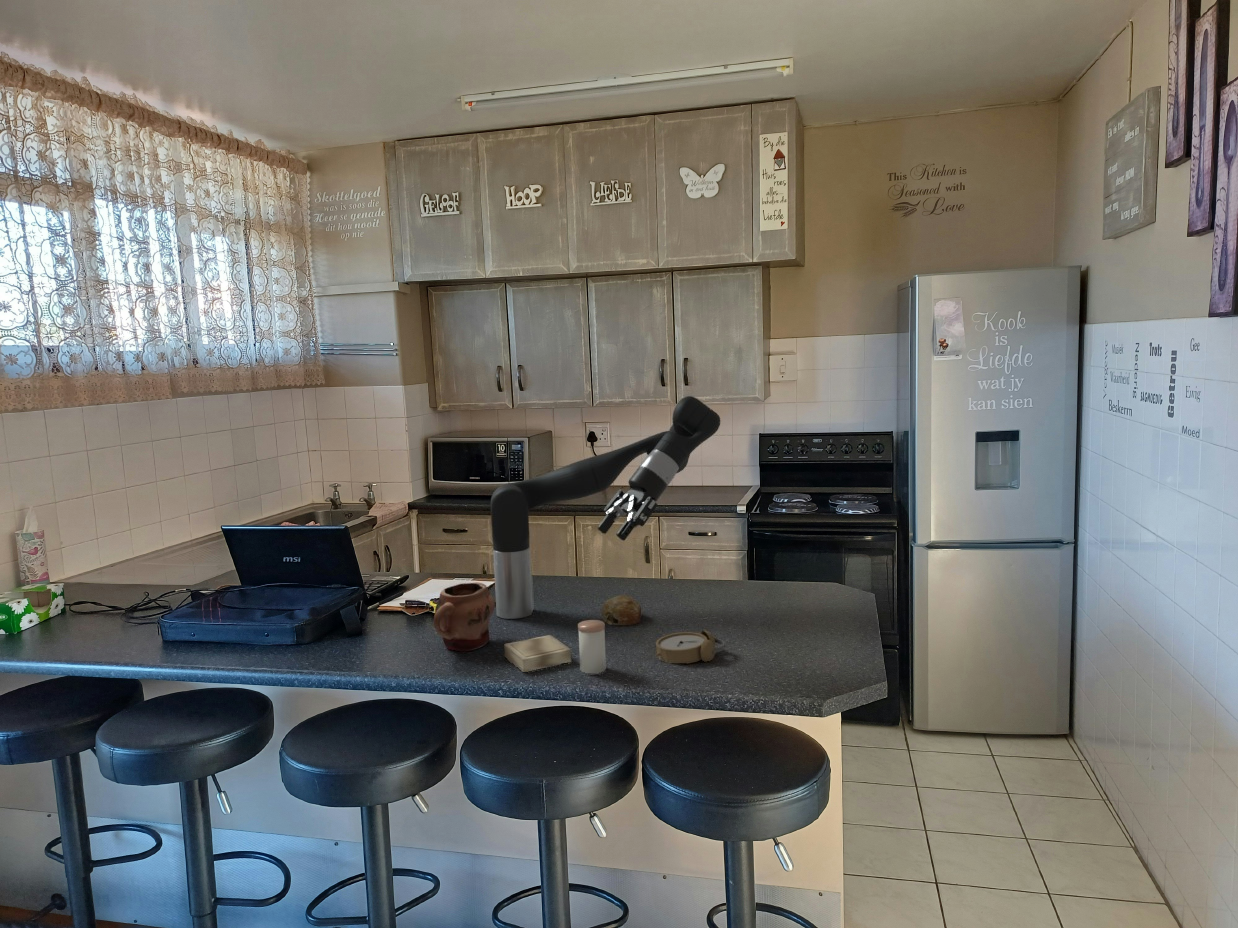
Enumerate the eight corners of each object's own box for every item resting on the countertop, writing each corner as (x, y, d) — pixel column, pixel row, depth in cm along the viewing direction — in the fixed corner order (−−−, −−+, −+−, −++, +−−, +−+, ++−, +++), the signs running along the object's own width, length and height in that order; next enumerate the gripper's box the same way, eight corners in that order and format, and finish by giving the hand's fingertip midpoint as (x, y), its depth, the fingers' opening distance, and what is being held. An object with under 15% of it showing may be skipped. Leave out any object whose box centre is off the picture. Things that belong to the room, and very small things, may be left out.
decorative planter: (466, 665, 181) (462, 603, 179) (417, 660, 185) (412, 599, 183) (508, 635, 199) (505, 578, 197) (462, 630, 203) (459, 575, 201)
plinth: (550, 647, 190) (550, 634, 190) (571, 662, 180) (570, 648, 180) (505, 657, 185) (504, 643, 184) (523, 673, 175) (522, 658, 175)
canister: (587, 663, 180) (585, 618, 178) (610, 667, 177) (609, 621, 176) (575, 673, 175) (573, 626, 173) (599, 676, 172) (597, 630, 171)
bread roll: (599, 635, 208) (592, 611, 204) (612, 607, 216) (606, 583, 211) (636, 639, 204) (630, 615, 200) (649, 610, 212) (643, 586, 208)
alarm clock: (655, 634, 189) (721, 623, 187) (660, 654, 189) (726, 643, 187) (652, 652, 177) (722, 640, 176) (657, 674, 178) (727, 662, 176)
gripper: (682, 490, 178) (638, 551, 174) (648, 482, 190) (606, 539, 186) (660, 468, 175) (614, 529, 171) (626, 461, 187) (583, 519, 183)
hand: (610, 534), depth 179 cm, fingers open, 8 cm apart
